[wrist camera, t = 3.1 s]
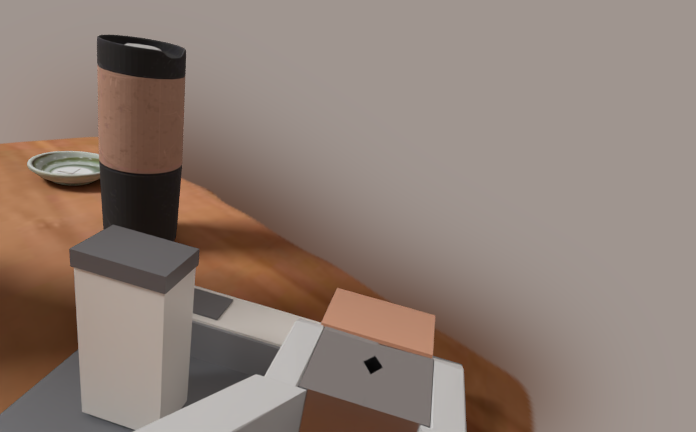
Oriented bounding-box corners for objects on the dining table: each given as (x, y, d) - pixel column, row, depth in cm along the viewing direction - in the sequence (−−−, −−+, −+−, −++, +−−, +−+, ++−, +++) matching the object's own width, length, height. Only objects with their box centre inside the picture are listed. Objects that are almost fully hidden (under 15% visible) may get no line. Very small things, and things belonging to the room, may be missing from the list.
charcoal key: (159, 440, 26) (165, 277, 22) (79, 412, 27) (69, 248, 23) (189, 400, 29) (199, 248, 25) (115, 375, 30) (113, 224, 25)
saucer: (120, 169, 66) (120, 153, 65) (107, 196, 57) (107, 178, 56) (42, 163, 63) (41, 146, 62) (16, 190, 54) (14, 171, 53)
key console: (-48, 477, 24) (-64, 409, 22) (141, 311, 39) (141, 261, 37) (440, 660, 21) (471, 599, 19) (445, 404, 35) (463, 355, 34)
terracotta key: (379, 515, 25) (432, 355, 20) (288, 483, 25) (321, 322, 21) (387, 464, 28) (435, 315, 23) (305, 437, 28) (337, 287, 24)
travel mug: (103, 220, 51) (98, 31, 43) (176, 220, 55) (183, 44, 47) (98, 254, 45) (92, 41, 37) (181, 252, 48) (191, 55, 40)
